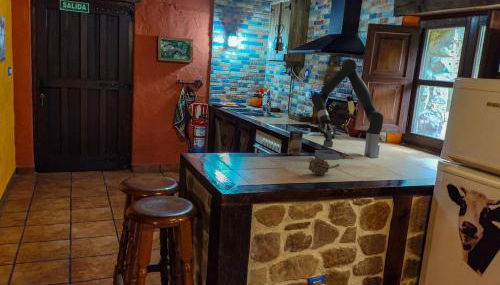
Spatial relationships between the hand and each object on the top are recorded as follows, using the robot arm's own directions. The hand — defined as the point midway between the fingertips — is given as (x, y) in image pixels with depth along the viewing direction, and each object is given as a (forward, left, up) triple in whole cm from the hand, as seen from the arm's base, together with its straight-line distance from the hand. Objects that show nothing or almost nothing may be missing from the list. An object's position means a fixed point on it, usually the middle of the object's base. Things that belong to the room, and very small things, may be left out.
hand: (330, 138), depth 277 cm
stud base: (-13, -2, -15) cm, 20 cm away
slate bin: (0, -2, -15) cm, 15 cm away
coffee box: (+17, -18, -15) cm, 29 cm away
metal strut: (0, -2, -6) cm, 6 cm away
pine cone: (+22, +36, -15) cm, 45 cm away
